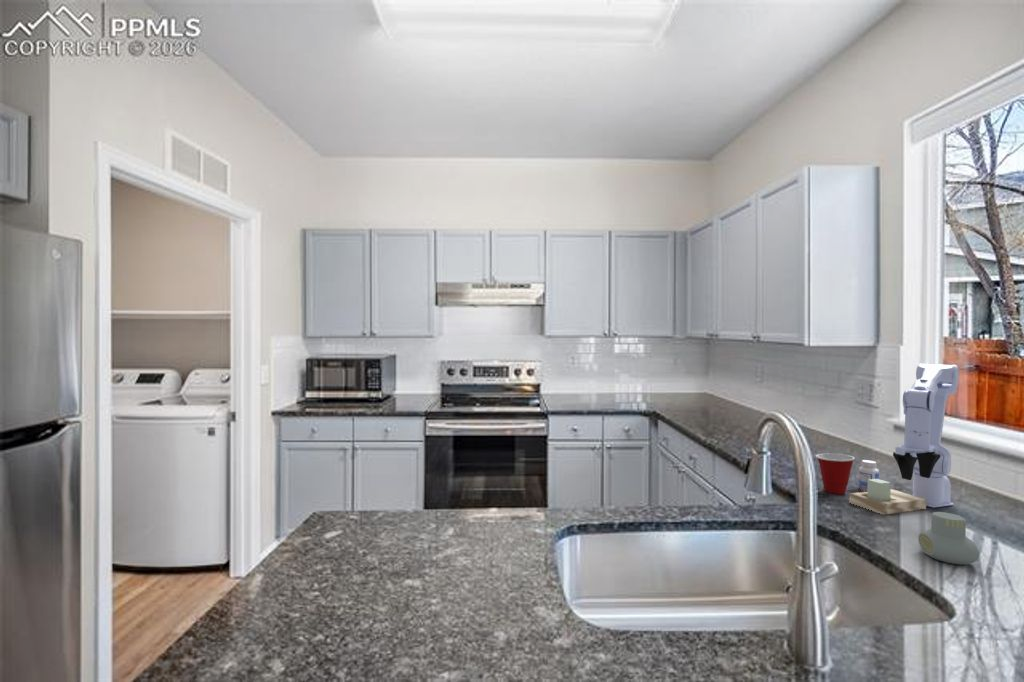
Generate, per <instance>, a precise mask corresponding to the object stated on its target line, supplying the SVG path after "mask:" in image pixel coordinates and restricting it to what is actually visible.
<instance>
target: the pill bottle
mask: <svg viewBox="0 0 1024 682" xmlns="http://www.w3.org/2000/svg"><path fill="white" fill-rule="evenodd" d="M858 468H859V469H858V489H859V488H860V489H862V490H865V491H867V486H868V480H869V479H880V470H879V468H877V462H876V461H874V460H868V459H862V460H861V466H860V467H858ZM860 489H859V490H860ZM862 490H861V491H862ZM865 491H864V492H865Z"/></svg>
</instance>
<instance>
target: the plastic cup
mask: <svg viewBox="0 0 1024 682" xmlns="http://www.w3.org/2000/svg"><path fill="white" fill-rule="evenodd" d="M815 457H816V459H817V461H818V464H819V469H820V470H819V471H820V474H821V480H822V485H823V486H822V487H823V489H824V492H826V491H827V492H826V493H829V494H834V495H845V494H846V492H847V487H848V484H849V480H850V476H851V471H852V467H853V463H854V461H855V459H856V458H855V457H854V456H852V455H850V454H849V455H848V454H843V453H842V454H840V453H829V452H827V453H817V454H815Z"/></svg>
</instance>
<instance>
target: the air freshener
mask: <svg viewBox="0 0 1024 682" xmlns="http://www.w3.org/2000/svg"><path fill="white" fill-rule="evenodd" d="M930 524H931V526H930V527H931V528H930V529H925V530H923V531H921V532H920V533H919V534H918V537H917V538H918V539H917V540H918V544H919V546H920V548H921V550H922V551H923V552H924V553H925V554H926V555H928V556H929V557H930V558H931V559H933V558H934V559H933V560H936V561H939V562H942V561H943V562H944V563H946V564H952V565H961V566H962V565H969V564H973V563H975V562H977V561H978V560H979V559H980V550H979V548H978V547H977V544H976V543H975V542H974V541H973V540H972V539H970V538H969V537H967V536H966V535H967V534H966V530H967V529H966V528H967V527H966V526H967V520H966V518H964V517H962V516H960V515H958V514H953V513H950V512H946V511H945V512H944V511H934V512H933V513H931V523H930ZM943 562H942V563H943Z"/></svg>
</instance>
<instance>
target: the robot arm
mask: <svg viewBox="0 0 1024 682" xmlns="http://www.w3.org/2000/svg"><path fill="white" fill-rule="evenodd" d="M915 379H916V381H915V382H914V383H913V384H912V385H911V388H910V389H907V390H904V392H903V395H902V405H903V406H902V407H903V415H904V441H903V443H904V444H902V445H900V446H895V448H894V449H895V450H894V451H895V452H892V456H893V458H894V460H895V461H896V463H897V466H898V468H899V472H900V476H901V478H902V479H903V480H908V481H912V495H914V496H917V497H921V498H924V499H926V507H931V508H940V507H947V506H954V505H955V504H954V503H953V502H951V491H952V490H951V488H952V483H951V481H950V479H949V478H948V476H949V475H950V473H951V469H952V455H951V452H950V450H949V449H948V448H947V447H945V446H943V445H942V444H941V443H942V436H943V429H944V423H945V422H944V421H945V414H946V406H947V401H948V399H949V396H951V395H954V394H957V390H958V386H959V379H960V370H959V367H958V365H957V364H935V363H933V364H932V363H931V364H930V363H919V364H917V366H916V370H915Z"/></svg>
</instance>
